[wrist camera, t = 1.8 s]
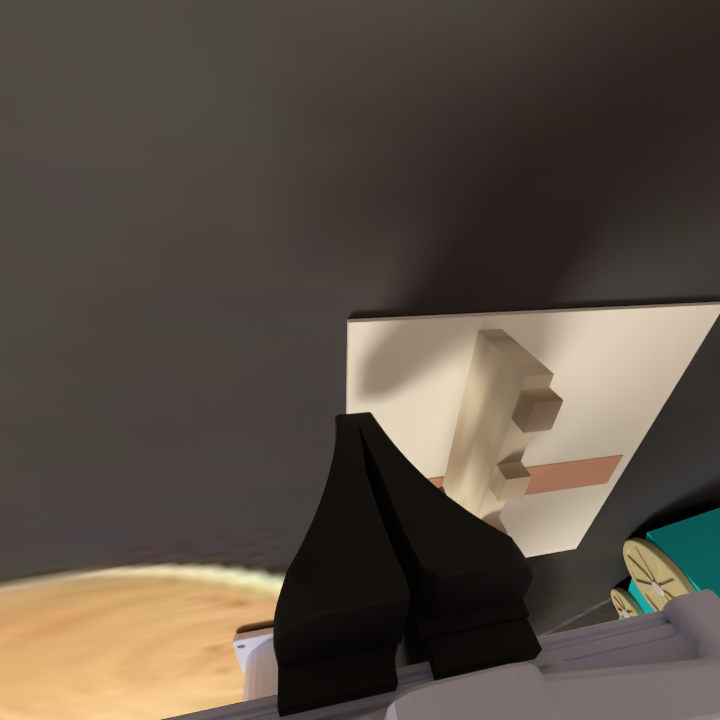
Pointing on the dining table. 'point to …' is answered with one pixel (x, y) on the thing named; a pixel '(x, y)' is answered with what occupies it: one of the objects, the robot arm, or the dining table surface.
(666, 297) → the dining table surface
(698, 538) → the toy train
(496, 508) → the beige toothed plate
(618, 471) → the card
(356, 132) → the dining table surface
